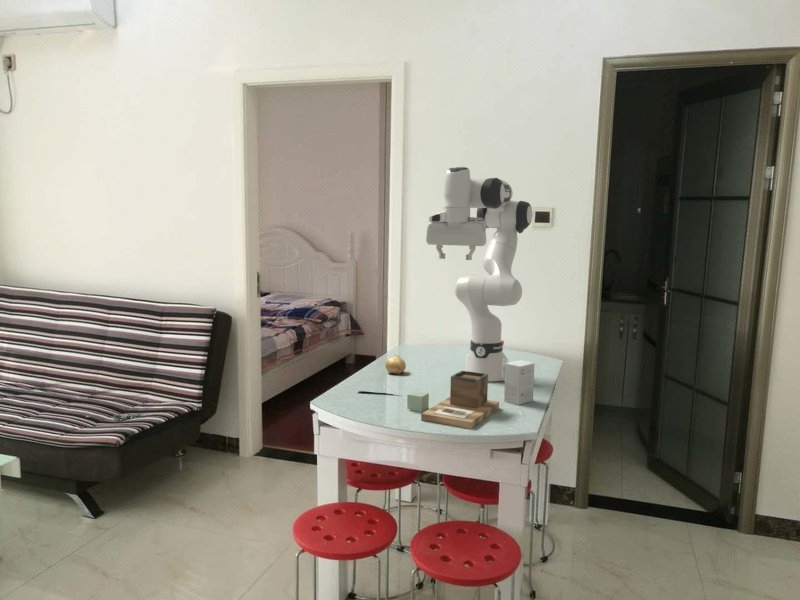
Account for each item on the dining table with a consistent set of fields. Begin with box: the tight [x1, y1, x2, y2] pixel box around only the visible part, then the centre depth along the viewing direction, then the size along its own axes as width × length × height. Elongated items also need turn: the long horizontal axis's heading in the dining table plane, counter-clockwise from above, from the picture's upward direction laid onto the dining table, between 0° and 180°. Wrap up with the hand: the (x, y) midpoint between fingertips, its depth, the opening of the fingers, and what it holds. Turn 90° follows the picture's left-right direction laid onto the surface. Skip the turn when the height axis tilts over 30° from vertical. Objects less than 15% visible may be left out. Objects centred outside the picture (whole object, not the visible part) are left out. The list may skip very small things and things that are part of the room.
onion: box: [384, 354, 407, 375], centre depth 249 cm, size 8×8×7 cm
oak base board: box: [420, 370, 500, 430], centre depth 197 cm, size 24×16×11 cm, turn 152°
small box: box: [503, 359, 535, 406], centre depth 212 cm, size 8×6×13 cm
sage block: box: [406, 390, 430, 413], centre depth 202 cm, size 5×5×5 cm
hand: (455, 259), depth 211 cm, fingers open, 8 cm apart
